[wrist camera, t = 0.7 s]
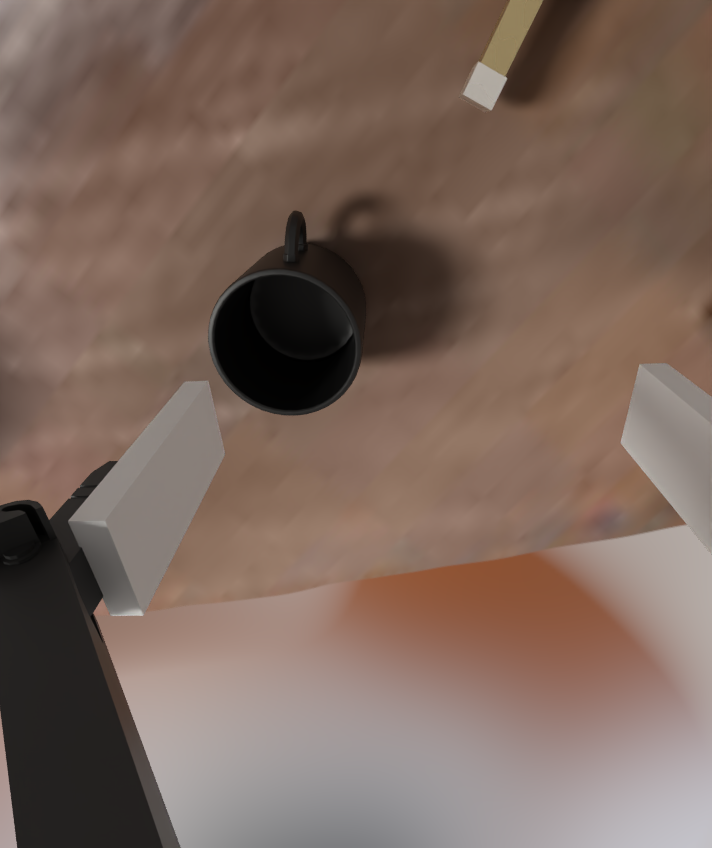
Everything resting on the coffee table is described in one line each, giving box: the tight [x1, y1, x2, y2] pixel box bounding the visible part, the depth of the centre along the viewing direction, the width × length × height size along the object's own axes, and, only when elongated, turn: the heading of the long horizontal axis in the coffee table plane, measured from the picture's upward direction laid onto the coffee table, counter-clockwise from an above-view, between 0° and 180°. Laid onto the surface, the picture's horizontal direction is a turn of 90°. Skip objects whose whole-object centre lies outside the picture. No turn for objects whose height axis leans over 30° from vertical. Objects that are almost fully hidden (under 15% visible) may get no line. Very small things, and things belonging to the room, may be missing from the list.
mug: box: [208, 211, 366, 415], centre depth 33 cm, size 9×12×9 cm
